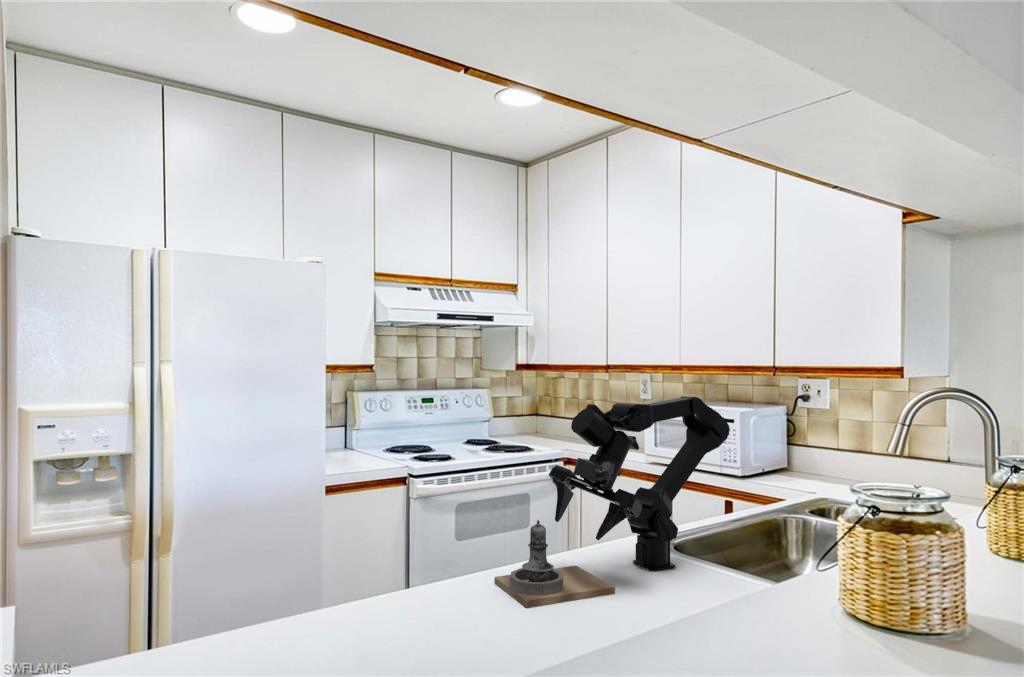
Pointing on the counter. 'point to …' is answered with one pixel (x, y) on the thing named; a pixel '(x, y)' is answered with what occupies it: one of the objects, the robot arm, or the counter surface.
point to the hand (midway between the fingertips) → (576, 530)
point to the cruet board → (554, 586)
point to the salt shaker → (537, 556)
